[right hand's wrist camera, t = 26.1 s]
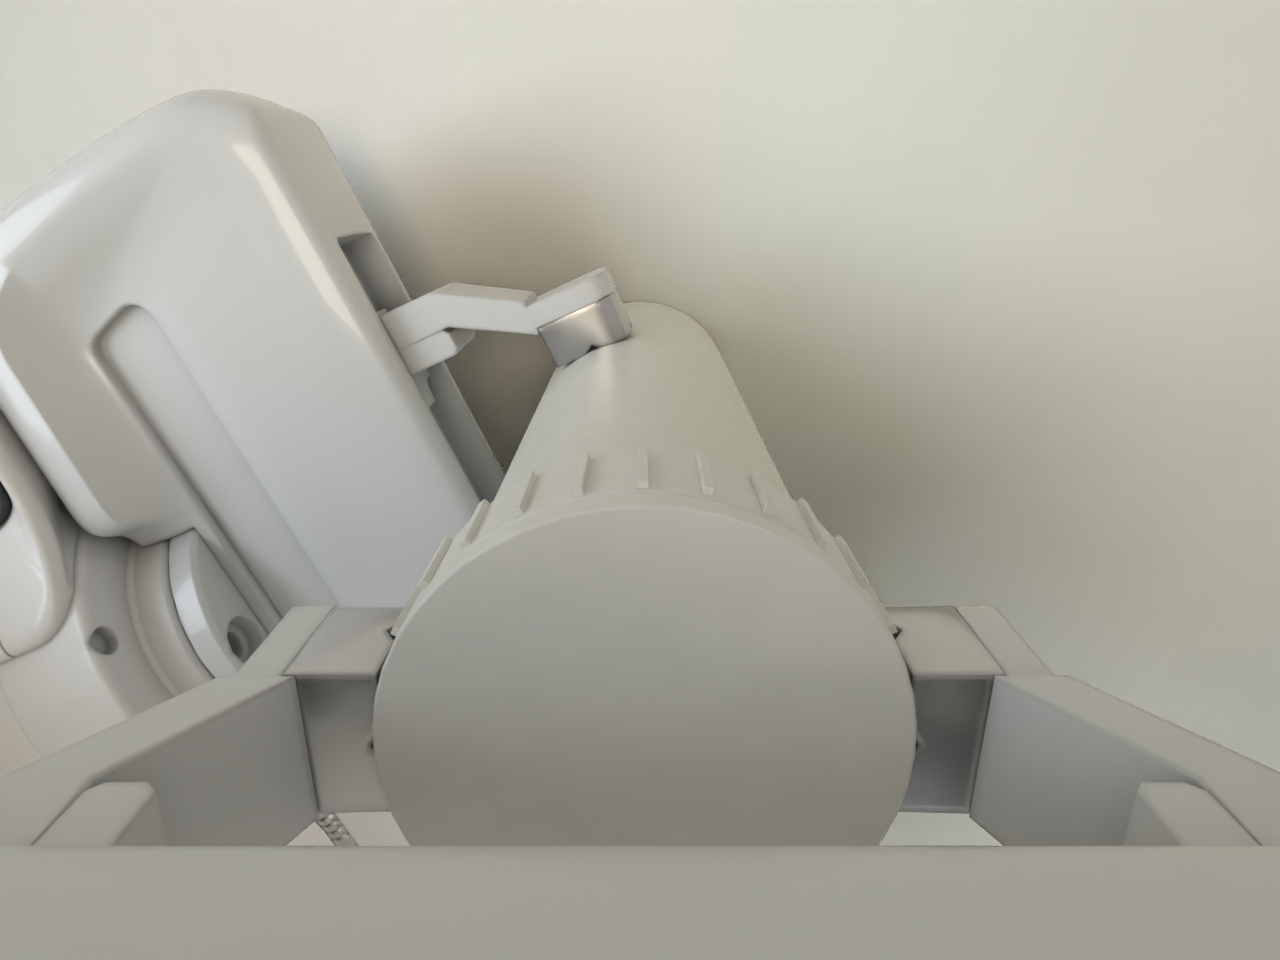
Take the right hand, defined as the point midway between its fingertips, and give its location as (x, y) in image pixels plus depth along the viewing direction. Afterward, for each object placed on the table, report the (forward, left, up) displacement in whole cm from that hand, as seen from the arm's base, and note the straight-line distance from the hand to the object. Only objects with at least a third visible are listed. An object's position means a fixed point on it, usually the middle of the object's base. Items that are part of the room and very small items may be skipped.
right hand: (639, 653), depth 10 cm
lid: (0, 0, +2) cm, 2 cm away
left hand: (0, -1, -9) cm, 9 cm away
